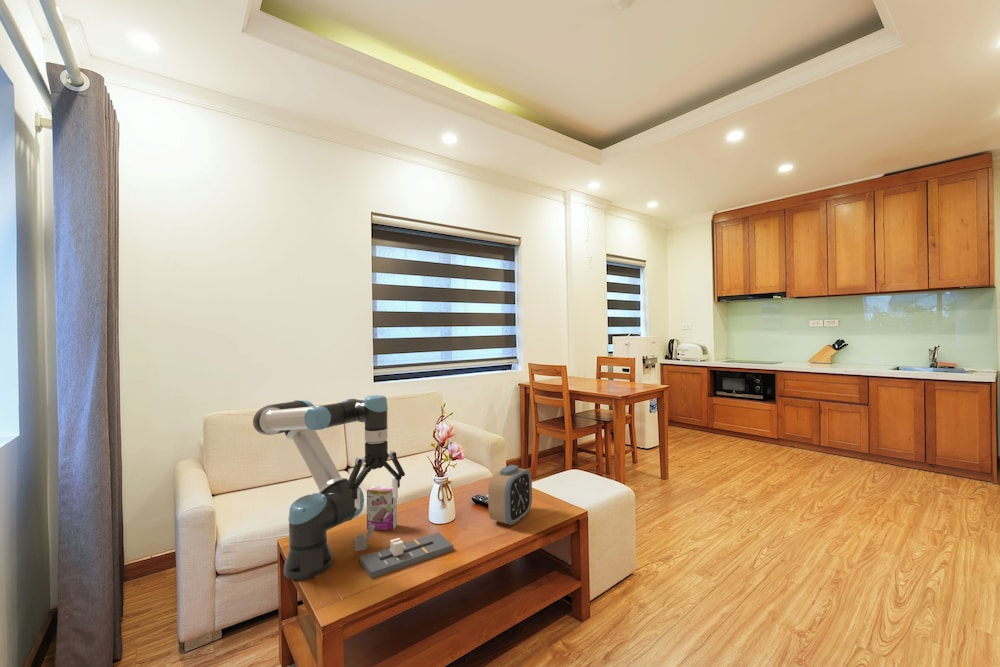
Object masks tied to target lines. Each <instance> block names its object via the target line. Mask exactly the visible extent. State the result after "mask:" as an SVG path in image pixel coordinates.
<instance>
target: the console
mask: <svg viewBox="0 0 1000 667" xmlns="http://www.w3.org/2000/svg"><path fill="white" fill-rule="evenodd" d="M453 551H454V544H452V542H451V541H449V540H448V539H447V538H446V537H444V536H443V535H442V534H441V533H440V532H436V533H432V534H429V535H426V536H422V537H419V538H417V539H412V540H409V541H406V542H403V555H400V556H397V557H394V556H393V555H392V554H391V552H390V547H387V548H383V549H380V550H376V551H373V552H370V553H367V554H364V555H361V556H359V563H360V565H361V566H362V567H363V569H364V570H365V572H366V573H367V575H368V577H369V578H370V579H374V578H377V577H379V576H382V575H386V574H388V573H390V572H391V573H392V572H394V571H397V570H401V569H403V568H406V567H409V566H411V565H414V564H415V565H416V564H418V563H421V562H424V561H426V560H430V559H431V558H436V557H438V556H440V555H444V554H447V553H450V552H453Z"/></svg>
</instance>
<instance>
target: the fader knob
mask: <svg viewBox="0 0 1000 667" xmlns="http://www.w3.org/2000/svg"><path fill="white" fill-rule="evenodd" d="M403 543H404V541H403V540H401V538H400V537H397V538H394V539H390V540H389V546H390V552H391V554H392V555H393V556H394V557H397V556H400V555H403Z"/></svg>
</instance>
